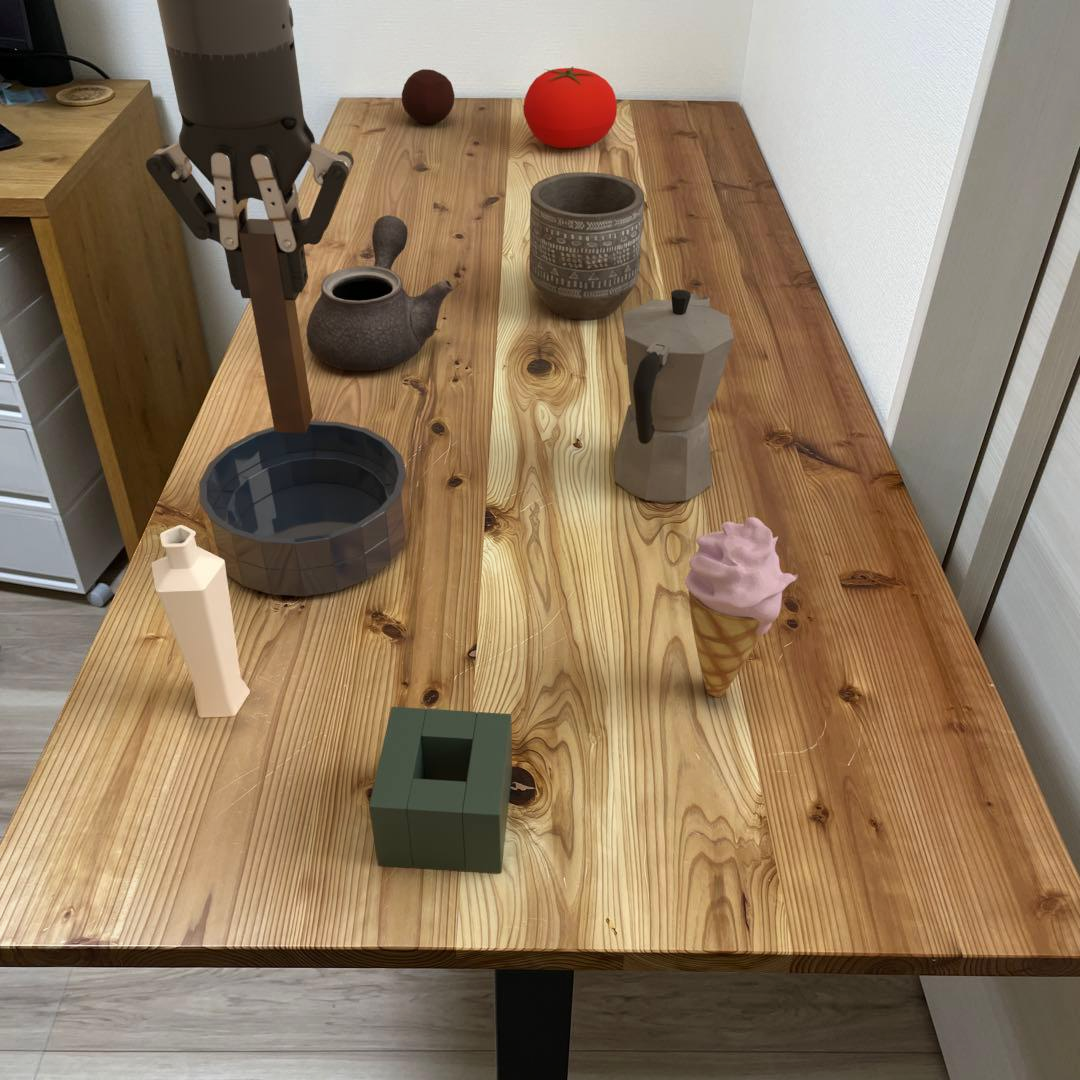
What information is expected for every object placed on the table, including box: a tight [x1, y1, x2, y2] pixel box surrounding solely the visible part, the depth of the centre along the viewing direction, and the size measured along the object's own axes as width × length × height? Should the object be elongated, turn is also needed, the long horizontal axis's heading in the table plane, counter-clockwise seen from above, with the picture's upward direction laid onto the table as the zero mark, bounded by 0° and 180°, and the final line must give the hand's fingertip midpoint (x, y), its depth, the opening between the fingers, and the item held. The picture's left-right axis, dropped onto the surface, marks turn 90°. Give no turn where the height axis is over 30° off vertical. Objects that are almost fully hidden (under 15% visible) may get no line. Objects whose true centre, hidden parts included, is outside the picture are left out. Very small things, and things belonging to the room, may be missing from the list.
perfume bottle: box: [151, 524, 251, 719], centre depth 71 cm, size 5×4×15 cm
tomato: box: [522, 66, 618, 149], centre depth 156 cm, size 14×13×10 cm
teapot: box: [306, 214, 454, 371], centre depth 112 cm, size 19×15×10 cm
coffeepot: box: [613, 289, 735, 504], centre depth 90 cm, size 15×9×18 cm, turn 156°
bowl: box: [198, 420, 412, 597], centre depth 87 cm, size 16×16×6 cm
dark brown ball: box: [401, 68, 455, 125], centre depth 163 cm, size 8×9×8 cm
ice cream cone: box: [685, 516, 799, 698], centre depth 72 cm, size 7×6×15 cm
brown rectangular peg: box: [239, 218, 314, 434], centre depth 77 cm, size 2×2×16 cm
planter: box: [528, 171, 645, 321], centre depth 117 cm, size 12×12×13 cm
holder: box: [368, 706, 513, 874], centre depth 66 cm, size 8×8×6 cm
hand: (272, 293), depth 75 cm, fingers closed on brown rectangular peg, 2 cm apart
